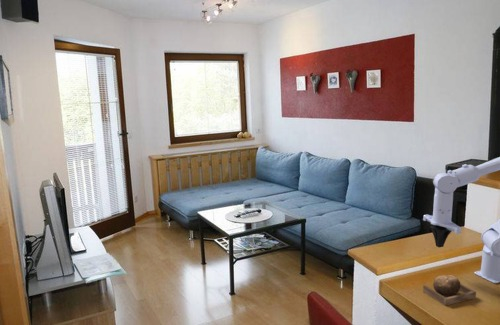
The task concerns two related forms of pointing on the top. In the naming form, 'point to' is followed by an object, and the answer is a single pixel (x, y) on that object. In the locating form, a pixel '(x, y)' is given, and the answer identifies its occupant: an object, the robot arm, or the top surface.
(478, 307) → the top surface
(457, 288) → the mushroom
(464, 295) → the walnut frame
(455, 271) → the top surface
